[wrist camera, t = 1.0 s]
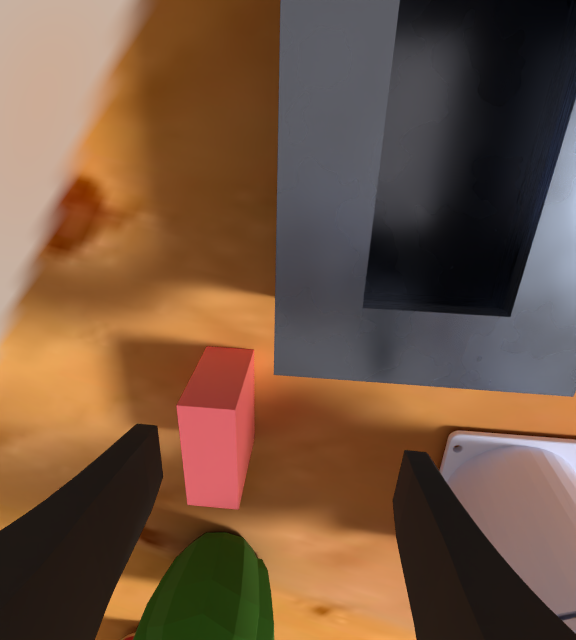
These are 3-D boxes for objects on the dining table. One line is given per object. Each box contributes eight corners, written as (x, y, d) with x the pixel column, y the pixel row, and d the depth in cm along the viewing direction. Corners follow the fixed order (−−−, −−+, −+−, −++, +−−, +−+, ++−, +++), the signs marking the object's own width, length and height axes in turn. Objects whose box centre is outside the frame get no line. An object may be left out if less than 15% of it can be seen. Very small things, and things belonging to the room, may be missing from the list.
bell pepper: (289, 524, 28) (270, 722, 19) (277, 597, 31) (257, 790, 22) (163, 506, 28) (86, 692, 19) (167, 580, 32) (104, 765, 23)
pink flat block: (254, 437, 25) (238, 509, 20) (212, 433, 25) (187, 504, 20) (254, 349, 22) (235, 410, 17) (207, 345, 22) (176, 405, 18)
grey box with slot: (501, 312, 20) (573, 396, 14) (289, 299, 20) (273, 374, 15) (614, -82, 13) (832, -228, 8) (302, -84, 14) (284, -219, 8)
